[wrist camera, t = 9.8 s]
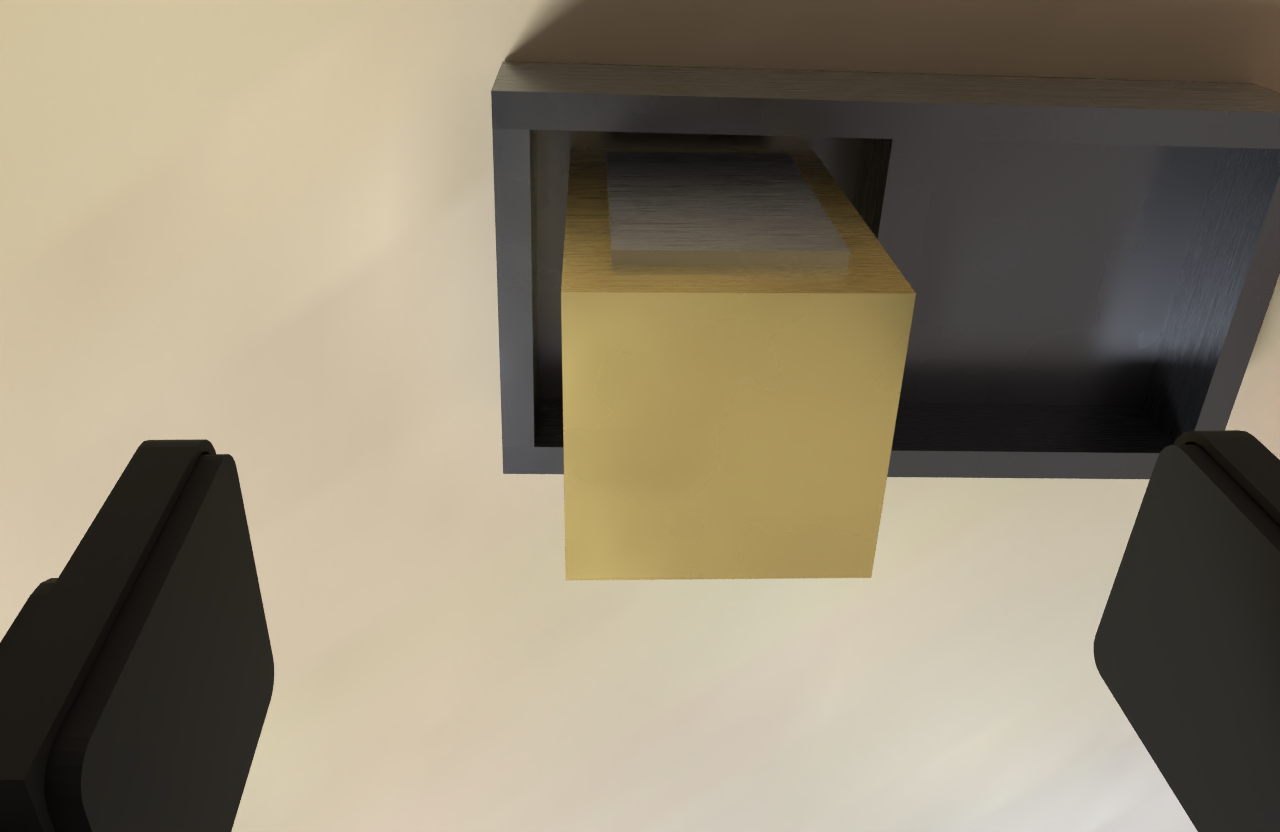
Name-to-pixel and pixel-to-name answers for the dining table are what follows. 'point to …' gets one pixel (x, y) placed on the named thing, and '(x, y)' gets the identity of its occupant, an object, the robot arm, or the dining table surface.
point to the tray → (951, 244)
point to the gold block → (724, 367)
